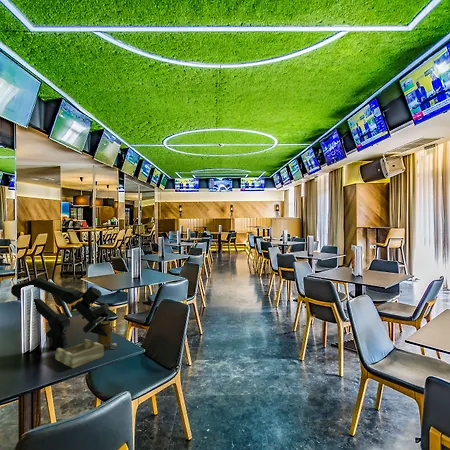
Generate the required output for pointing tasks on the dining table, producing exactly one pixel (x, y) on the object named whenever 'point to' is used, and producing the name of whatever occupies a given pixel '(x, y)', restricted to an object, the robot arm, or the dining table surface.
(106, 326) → the condiment
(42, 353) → the dining table surface
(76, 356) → the tan square tray
